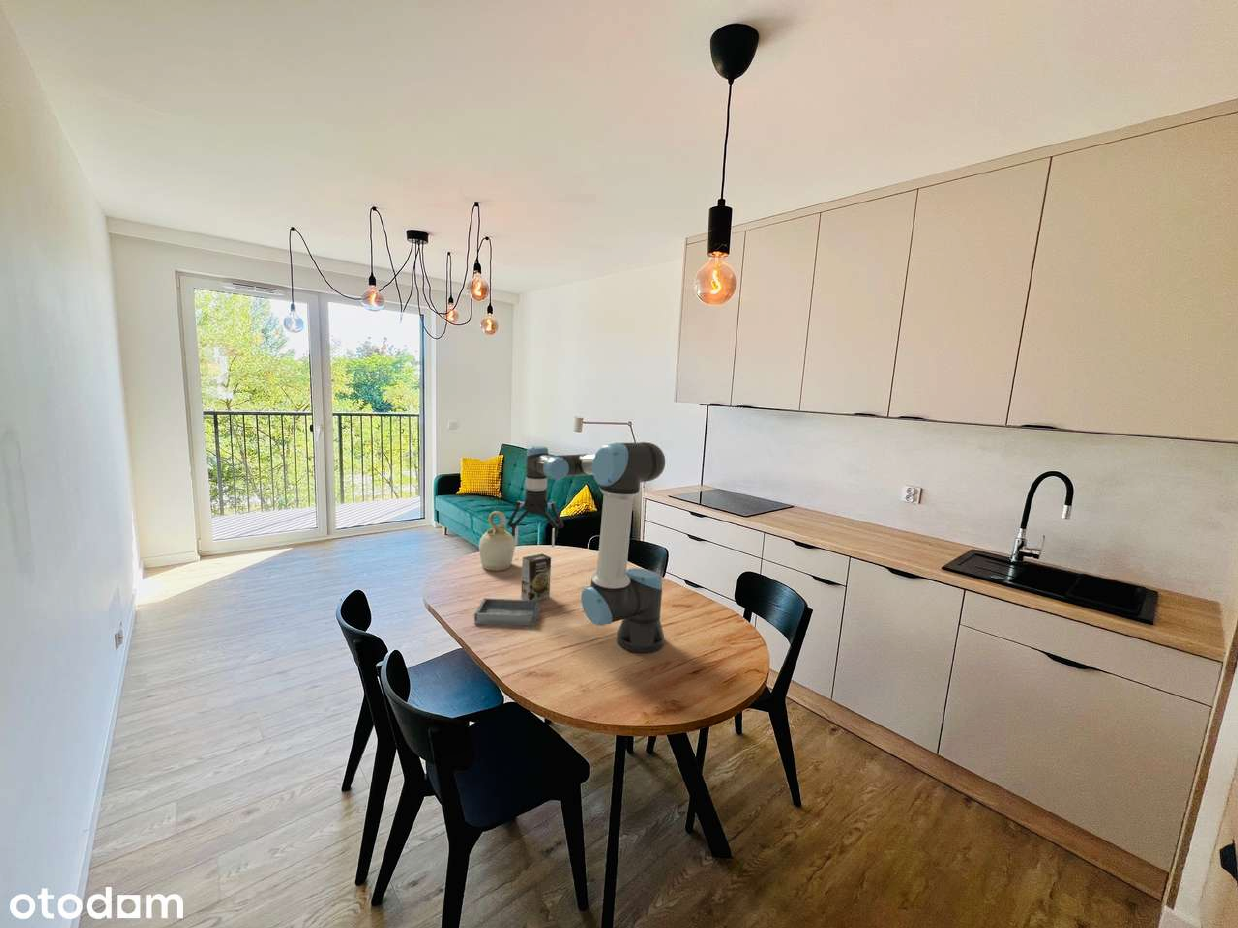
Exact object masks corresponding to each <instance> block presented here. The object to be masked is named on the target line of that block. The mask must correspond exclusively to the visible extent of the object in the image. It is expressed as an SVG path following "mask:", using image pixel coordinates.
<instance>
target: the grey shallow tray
mask: <svg viewBox="0 0 1238 928" xmlns="http://www.w3.org/2000/svg"><path fill="white" fill-rule="evenodd" d="M540 610H541V600H539V601H536V600H524V599H511V598H510V599H508V598H507V599H506V598H486V597H485V598H484V597H483V599H482V601H481V602H480V604H479V605H478V607H477V609H476V611H475V612H474V614H473V622H474V623H473V624H474V625H490V626H491V625H495V626H497V625H498V626H515V627H516V626H519V627H520V626H522V627H535V625H536V622H537V619H538V616H539V615H540Z"/></svg>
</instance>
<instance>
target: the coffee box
mask: <svg viewBox="0 0 1238 928" xmlns="http://www.w3.org/2000/svg"><path fill="white" fill-rule="evenodd" d="M521 563H522V566H521V567H522V568H521V569H522V571H521V574H522V575H521V591H520V593H521V595H520V598H521V599H522V600H536V601H543V600H546V599H549V598H550V597H551V594H550V593H551V573H552V570H551V567H552V557H551V556H549V555H547V554H544V553H543V552H542V553H538V554H532V555H527V556H523V557H522V562H521Z"/></svg>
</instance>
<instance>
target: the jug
mask: <svg viewBox="0 0 1238 928" xmlns="http://www.w3.org/2000/svg"><path fill="white" fill-rule="evenodd" d="M495 515H496V516H498V517H500V520H501V523H500V524H496V523H495V522H494V516H495ZM506 521H507V520H506V516H505V515H504V513H503V512H501V511H499V510H494V511H492V512H491V513H490V515H489V517H488V523H489V524H490V525H489V526H491V528H488V529H487V530H486V531H485V533H483V534H482V535H481V537H480V540H479V542H478V552H479V557H480V562H481V567H482V568H483V569H484V570H488V571H497V572H498V571H504V570H506V569H508V568H510V567H511V564H512V563H513V557H514V554H515V549H516V546H515V537H514V536H512V533H510V532H509V531H507V530H506V529H507V526H506V525H507V524H506Z"/></svg>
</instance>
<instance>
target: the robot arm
mask: <svg viewBox="0 0 1238 928" xmlns="http://www.w3.org/2000/svg"><path fill="white" fill-rule="evenodd" d="M526 451H527V452H526V465H525V466H526V468H525V469H526V472H525V473H526V476H525V488H526V489H525V501H521V500H517V501H516V505H515V509H514V511H513V513H512V514H511V516H510V518H509V519H508V522H507V524H506V525H507V526H508V527H510V528H511V535H512V536H513V537H514V542H515V547H517V546H518V544H519V526H517V525H519V523H521V521H523V519H524V518H525V517H526V516H528V514H530V515H538V516H539V515H541V514H542V515H543V517H544V518H546V520H547V521H548V522H549V524H550V525H551V526H552V527H553V528H552V533H551V534H552V535H551V547H552V548H554V547H555V541H556V538H557V539H558V536H559V529H562V528H564V523H563V521H562V519H561V516H560V514H559V513H558V510H557V508H556V502H555V501H552V502H548V501H547V500H548V499H547V496H548V495H547V494H548V493H547V492H548V491H547V488H548V479H551V480H557V481H558V480H562V479H564V478H566V477H576V476H577V477H578V476H579V477H580V476H593V479H594V482H596V484H598V489H599V490H600V492H601V493H602V494H603V499H602V510H601V522H600V533H599V541H598V542H599V543H598V544H599V545H598V555H597V568H596V571H595V572H594V573H593V574H592V575H591V576H590V585H589V586H586V587H585V588H584V589H583V590H582V592H581V596H580V597H581V598H580V599H581V600H580V601H581V606H582V608H583V611H584V613H585V615H586V617H587V619H588V620H589V621H590V622H591V623H592V624H594V625H596V626H599V627H600V626H601V627H602V626H605V625H611V624H612V623H615V622H619V621H621V622H620V625H619V627H618V629H617V632H616V643H617V644H618V646H620V647H621V648H623V649H624V650H625V651H626V650H627V651H630V652H632V653H638V654H648V653H654V652H658V651H659V650H660V649H662V648H663V647H664V645H665V633H664V630H663V627H662V622H661V606H662V595H663V579H662V576H661V575H660V574H658V572H654V571H652V570H650V569H644V568H635V567H634V568H628V569H627V567H628V566H627V565H628V557H629V556H628V555H629V547H630V546H629V545H630V535H631V526H632V525H631V524H632V516H633V515H632V513H633V505H634V497H635V496H637V494H639V493H640V489H641V488H640V487H641V483H645V482H651V481H653V480H656V479H657V478H659V477H660V475H661V476H662V474H663V472H664V470H665V466H666V457H665V454H664V452H663V450H662V449H661V448H660V447H659V446H658V445H656V444H654V443H651V442H646V441H640V442H613V443H606V444H604V445H602V446H600V448H599V449H598V450H597V451H596V452H595V453H585V454H583V453H582V454H568V455H567V454H564V455H551V454H549V449H548V447H546V446H539V445H533V446H532V445H531V446H528V447H527V450H526ZM523 506H524V507H525V509H526V510H524V512H523V513H521V515H520V516H519V517H518V518H517V519H516V520H515V517H516V516H517V514H518V512H519V510H520V509H521V508H522V507H523ZM547 507H549V509H550V510H551V512H552V514H553V516H554V518H555V520H556V521H555V520H554V518H553V517H552V516H551V515H550V513H549V512H548V510H547ZM514 520H515V521H514ZM507 526H506V527H507Z"/></svg>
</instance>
